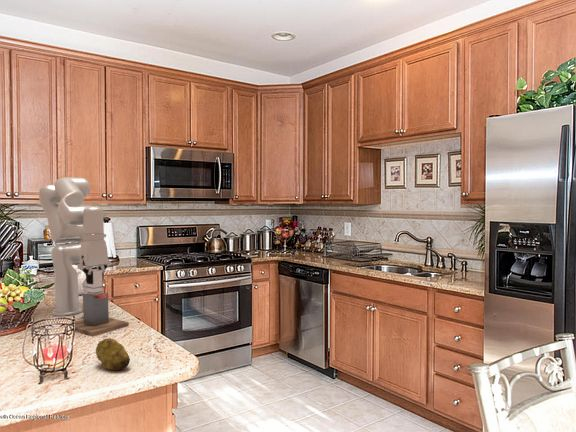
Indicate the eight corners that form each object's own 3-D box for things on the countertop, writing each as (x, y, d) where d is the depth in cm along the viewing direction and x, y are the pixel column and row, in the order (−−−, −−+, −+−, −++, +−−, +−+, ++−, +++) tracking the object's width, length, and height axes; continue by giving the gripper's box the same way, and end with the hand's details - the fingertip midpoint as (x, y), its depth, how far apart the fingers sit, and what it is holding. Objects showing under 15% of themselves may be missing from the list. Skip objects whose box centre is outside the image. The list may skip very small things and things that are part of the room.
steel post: (88, 318, 180) (86, 270, 179) (97, 316, 184) (96, 269, 183) (94, 319, 178) (92, 271, 177) (103, 317, 181) (102, 269, 180)
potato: (102, 376, 131) (102, 349, 130) (94, 363, 141) (93, 338, 141) (131, 370, 135) (131, 344, 135) (121, 357, 146) (120, 333, 146)
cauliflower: (47, 282, 230) (65, 256, 239) (51, 292, 245) (68, 266, 254) (84, 298, 233) (100, 271, 242) (86, 306, 248) (101, 281, 256)
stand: (63, 327, 180) (62, 294, 179) (99, 318, 193) (98, 287, 192) (92, 336, 169) (91, 301, 168) (128, 325, 182) (127, 293, 181)
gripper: (106, 235, 188) (108, 278, 189) (68, 239, 174) (69, 285, 175) (117, 236, 184) (118, 280, 185) (79, 240, 170) (80, 287, 171)
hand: (95, 282), depth 180 cm, fingers closed on steel post, 4 cm apart
